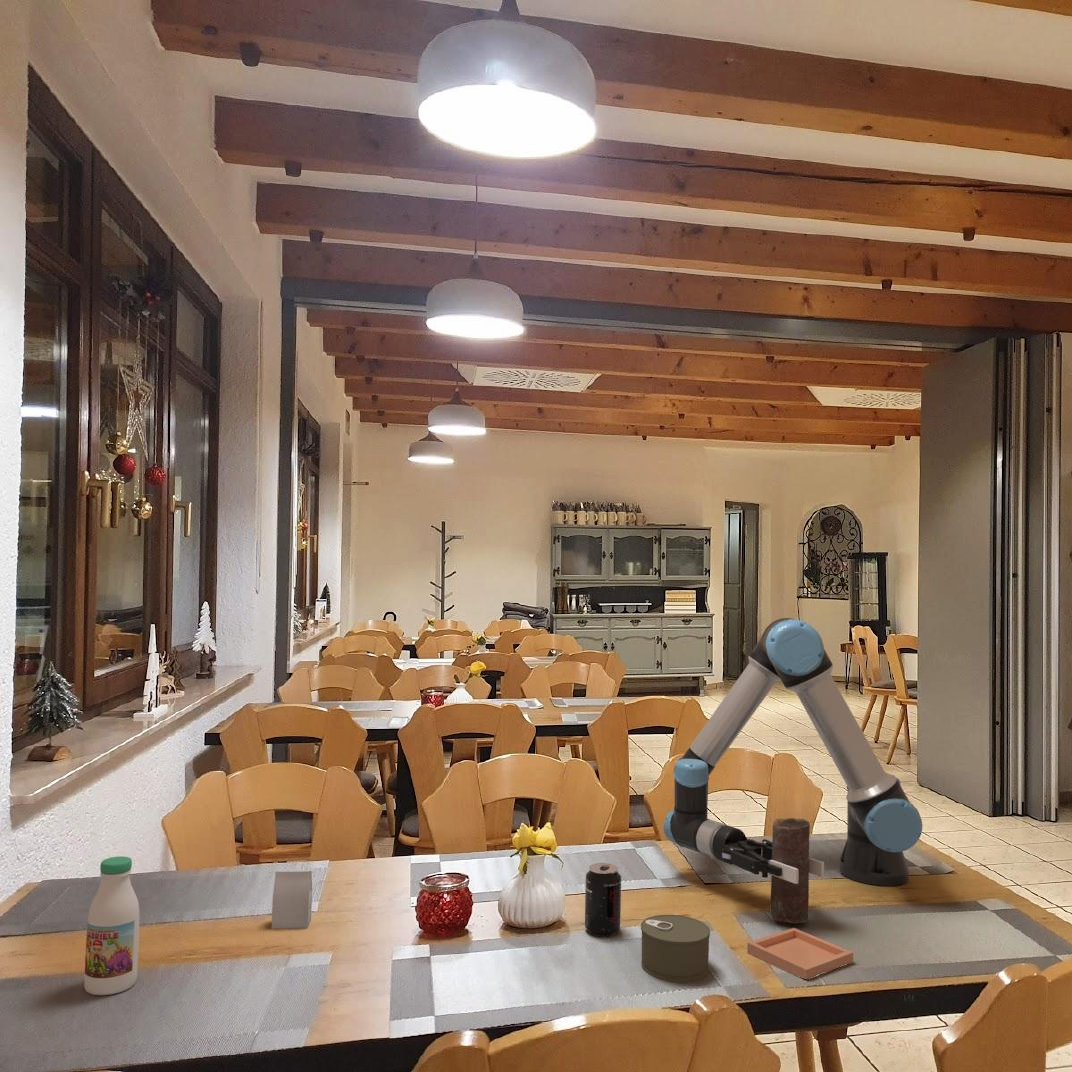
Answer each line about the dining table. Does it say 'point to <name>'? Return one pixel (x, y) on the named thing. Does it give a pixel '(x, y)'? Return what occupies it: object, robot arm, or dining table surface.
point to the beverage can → (603, 899)
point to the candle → (793, 852)
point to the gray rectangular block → (292, 899)
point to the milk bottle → (112, 931)
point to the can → (675, 948)
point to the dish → (799, 953)
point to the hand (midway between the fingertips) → (810, 872)
